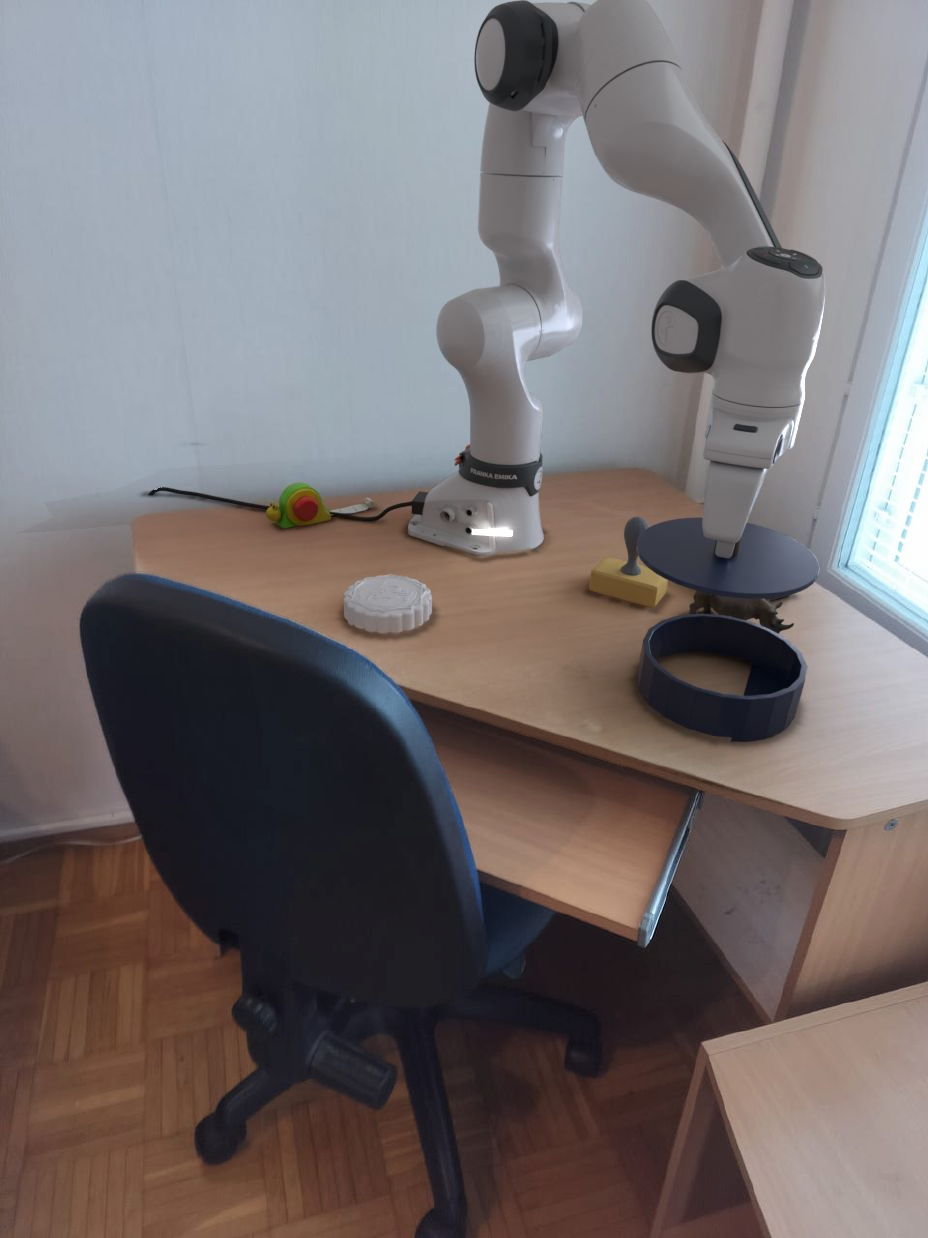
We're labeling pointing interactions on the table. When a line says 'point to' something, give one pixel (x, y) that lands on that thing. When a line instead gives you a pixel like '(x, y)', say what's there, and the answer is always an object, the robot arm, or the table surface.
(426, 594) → the mooncake
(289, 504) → the toy measuring tape
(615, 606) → the table surface
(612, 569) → the rubber stamp
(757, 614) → the rhino figurine
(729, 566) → the pan lid
